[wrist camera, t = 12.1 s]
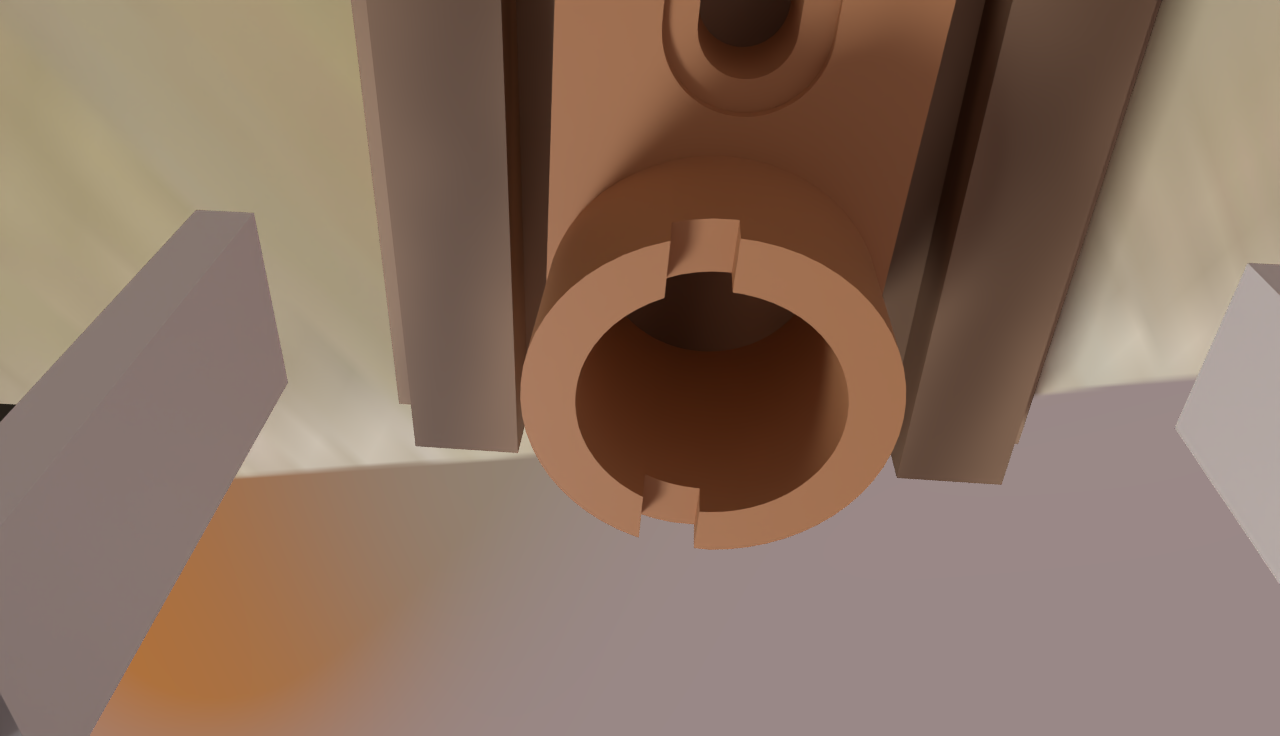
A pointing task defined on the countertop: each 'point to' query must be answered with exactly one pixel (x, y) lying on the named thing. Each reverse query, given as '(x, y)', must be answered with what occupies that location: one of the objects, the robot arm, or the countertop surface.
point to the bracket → (726, 258)
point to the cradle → (704, 301)
